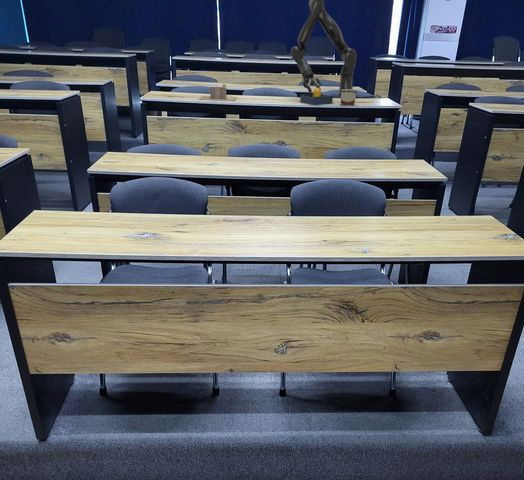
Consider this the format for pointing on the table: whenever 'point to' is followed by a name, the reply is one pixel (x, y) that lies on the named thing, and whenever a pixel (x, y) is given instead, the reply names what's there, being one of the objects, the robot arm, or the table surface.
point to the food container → (348, 97)
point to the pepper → (317, 92)
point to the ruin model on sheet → (218, 94)
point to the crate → (316, 99)
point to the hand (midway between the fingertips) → (315, 91)
